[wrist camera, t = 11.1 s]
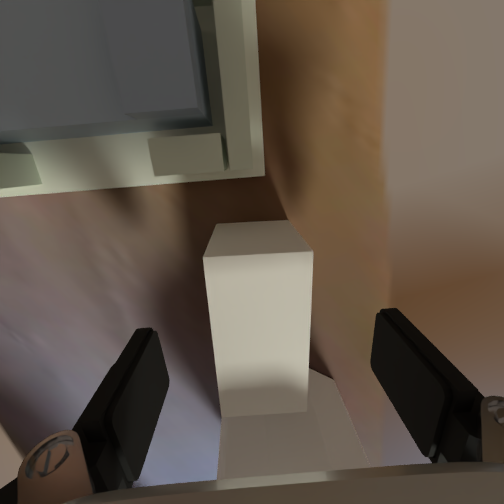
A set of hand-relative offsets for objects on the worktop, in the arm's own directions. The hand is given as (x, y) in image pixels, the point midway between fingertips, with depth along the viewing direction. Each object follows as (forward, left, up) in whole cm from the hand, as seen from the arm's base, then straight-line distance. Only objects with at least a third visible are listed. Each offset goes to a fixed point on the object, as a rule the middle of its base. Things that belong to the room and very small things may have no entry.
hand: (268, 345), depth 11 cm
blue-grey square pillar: (+11, +8, -6) cm, 15 cm away
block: (-1, 0, -7) cm, 7 cm away
